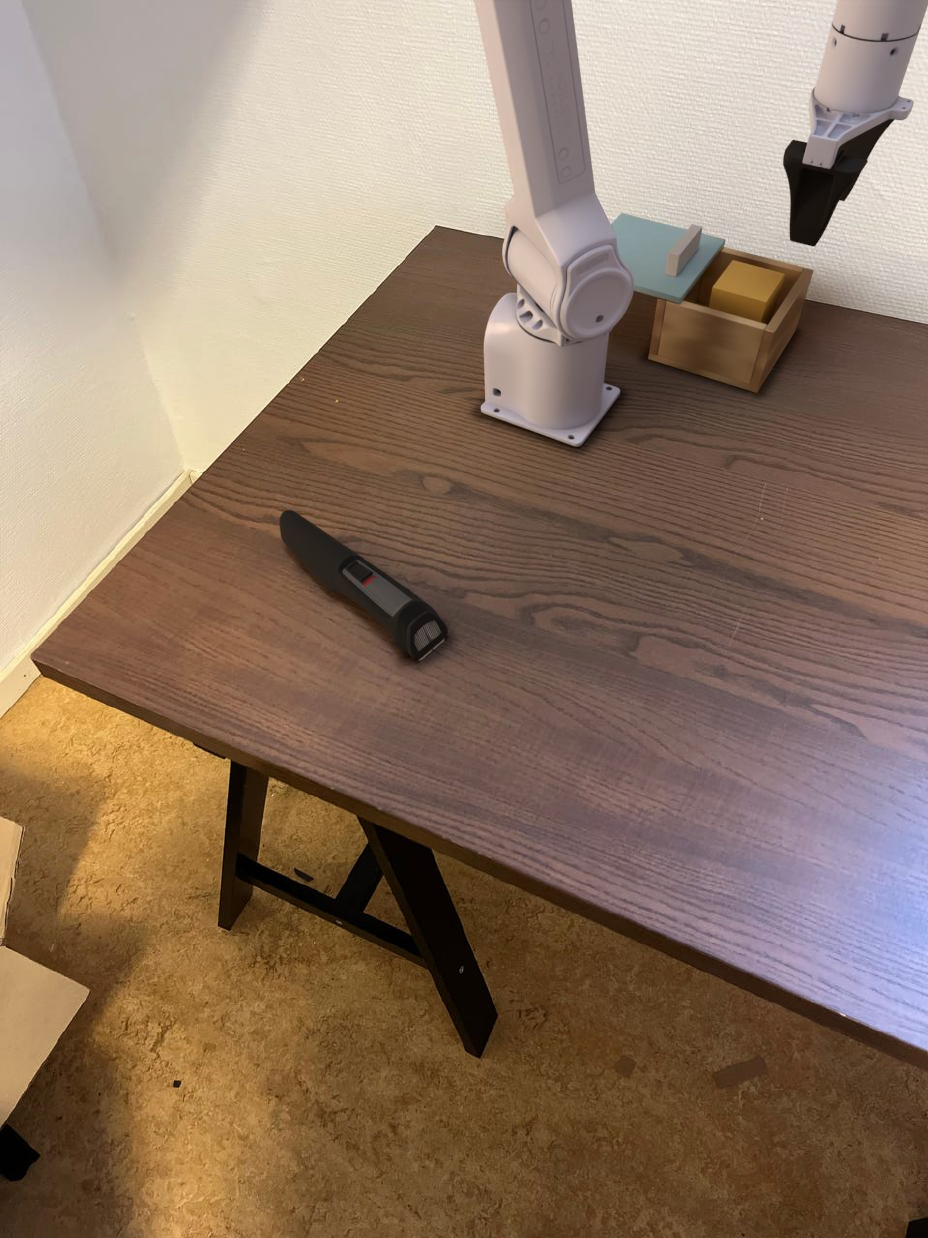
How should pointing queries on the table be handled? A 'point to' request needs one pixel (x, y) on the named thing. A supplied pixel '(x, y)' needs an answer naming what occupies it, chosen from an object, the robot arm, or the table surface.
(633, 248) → the teal lid
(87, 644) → the table surface
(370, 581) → the electric trimmer
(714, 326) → the box
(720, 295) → the block
